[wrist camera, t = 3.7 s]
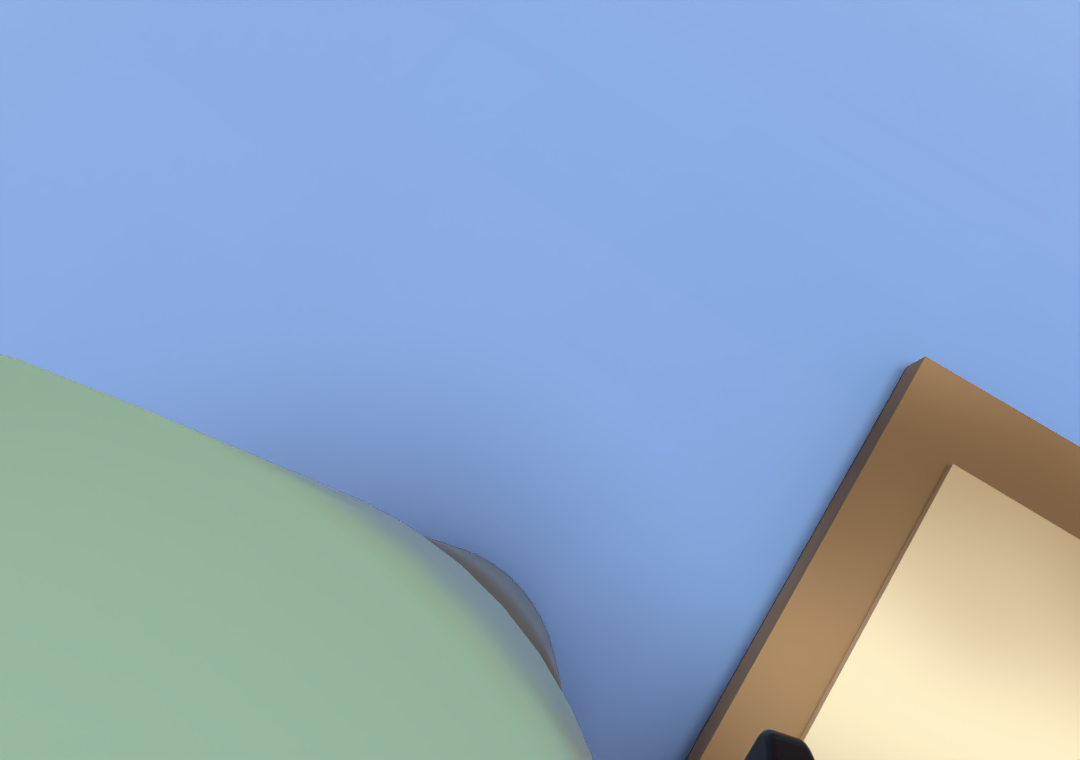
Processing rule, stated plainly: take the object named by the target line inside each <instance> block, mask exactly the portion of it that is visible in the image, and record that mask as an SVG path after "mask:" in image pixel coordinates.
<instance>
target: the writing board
mask: <svg viewBox="0 0 1080 760" xmlns="http://www.w3.org/2000/svg"><path fill="white" fill-rule="evenodd" d="M766 729H772V730H775V731H778V732H781V733H784V734H787V735H790V736H793V737H796V738H799V739H801V740H803V741H804V742H805V743H806V744H807V746H808V747H809V749H810V750H811V752H812V754H813V757H814V759H815V760H1080V447H1079V446H1077V445H1076V444H1074V443H1072V442H1070V441H1069V440H1067V439H1065V438H1064V437H1062V436H1060V435H1058V434H1057V433H1055V432H1053V431H1052V430H1050V429H1048V428H1047V427H1045V426H1043V425H1041V424H1040V423H1038V422H1036V421H1035V420H1033V419H1031V418H1029V417H1028V416H1026V415H1024V414H1023V413H1021V412H1019V411H1018V410H1016V409H1014V408H1012V407H1011V406H1009V405H1007V404H1006V403H1004V402H1002V401H1001V400H999V399H997V398H995V397H994V396H992V395H990V394H989V393H987V392H985V391H983V390H982V389H980V388H978V387H977V386H975V385H973V384H972V383H970V382H968V381H966V380H965V379H963V378H961V377H960V376H958V375H956V374H954V373H953V372H951V371H949V370H948V369H946V368H944V367H943V366H941V365H939V364H937V363H936V362H934V361H932V360H931V359H929V358H927V357H924V358H922V359H920V360H919V361H917V362H915V363H913V364H911V365H910V366H908V367H907V368H906V370H905V372H904V373H903V375H902V377H901V379H900V381H899V382H898V384H897V386H896V388H895V389H894V391H893V393H892V395H891V397H890V398H889V400H888V402H887V404H886V405H885V407H884V409H883V411H882V413H881V414H880V416H879V418H878V420H877V421H876V423H875V425H874V427H873V429H872V430H871V432H870V434H869V436H868V437H867V439H866V441H865V443H864V444H863V446H862V448H861V450H860V452H859V453H858V455H857V457H856V459H855V460H854V462H853V464H852V466H851V468H850V469H849V471H848V473H847V475H846V476H845V478H844V480H843V482H842V484H841V485H840V487H839V489H838V491H837V492H836V494H835V496H834V498H833V500H832V501H831V503H830V505H829V507H828V508H827V510H826V512H825V514H824V516H823V517H822V519H821V521H820V523H819V524H818V526H817V528H816V530H815V532H814V533H813V535H812V537H811V539H810V540H809V542H808V544H807V546H806V547H805V549H804V551H803V553H802V555H801V556H800V558H799V560H798V562H797V563H796V565H795V567H794V569H793V571H792V572H791V574H790V576H789V578H788V579H787V581H786V583H785V585H784V587H783V588H782V590H781V592H780V594H779V595H778V597H777V599H776V601H775V603H774V604H773V606H772V608H771V610H770V611H769V613H768V615H767V617H766V619H765V620H764V622H763V624H762V626H761V627H760V629H759V631H758V633H757V635H756V636H755V638H754V640H753V642H752V643H751V645H750V647H749V649H748V650H747V652H746V654H745V656H744V658H743V659H742V661H741V663H740V665H739V666H738V668H737V670H736V672H735V674H734V675H733V677H732V679H731V681H730V682H729V684H728V686H727V688H726V690H725V691H724V693H723V695H722V697H721V698H720V700H719V702H718V704H717V706H716V707H715V709H714V711H713V713H712V714H711V716H710V718H709V720H708V722H707V723H706V725H705V727H704V729H703V730H702V732H701V734H700V736H699V738H698V739H697V741H696V743H695V745H694V746H693V748H692V750H691V752H690V753H689V755H688V757H687V759H686V760H744V759H745V758H746V756H747V754H748V752H749V751H750V749H751V747H752V746H753V744H754V742H755V741H756V739H757V737H758V736H759V734H760V733H761V732H762V731H764V730H766Z"/></svg>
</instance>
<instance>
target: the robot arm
mask: <svg viewBox="0 0 1080 760" xmlns="http://www.w3.org/2000/svg"><path fill="white" fill-rule="evenodd" d="M744 760H815V759H814V757H813V754H812V752H811V750H810V749H809V747H808V746H807V744H806V743H805V742H804V741H803V740H801V739H799V738H796V737H793V736H790V735H787V734H784V733H781V732H778V731H775V730H772V729H766V730H764V731H762V732H761V733H760V734H759V736H758V737H757V739H756V741H755V742H754V744H753V746H752V747H751V749H750V751H749V752H748V754H747V756H746V758H745V759H744Z"/></svg>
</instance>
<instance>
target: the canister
mask: <svg viewBox="0 0 1080 760" xmlns="http://www.w3.org/2000/svg"><path fill="white" fill-rule="evenodd" d="M0 760H593V758H592V755H591V753H590V751H589V748H588V746H587V744H586V741H585V739H584V736H583V734H582V732H581V729H580V727H579V725H578V722H577V720H576V718H575V715H574V713H573V711H572V708H571V706H570V705H569V703H568V701H567V700H566V698H565V696H564V694H563V691H562V687H561V682H560V678H559V674H558V670H557V665H556V661H555V657H554V653H553V649H552V646H551V642H550V639H549V635H548V633H547V630H546V628H545V626H544V623H543V621H542V619H541V617H540V615H539V613H538V612H537V610H536V608H535V607H534V605H533V603H532V602H531V600H530V599H529V598H528V597H527V595H526V594H525V593H524V591H523V590H522V589H521V588H520V587H519V586H518V585H517V584H516V583H515V582H514V581H513V580H512V579H511V578H510V577H509V576H508V575H507V574H506V573H504V572H503V571H502V570H500V569H499V568H498V567H496V566H495V565H494V564H492V563H490V562H489V561H487V560H485V559H483V558H481V557H480V556H478V555H475V554H473V553H470V552H468V551H465V550H463V549H460V548H457V547H454V546H451V545H448V544H445V543H442V542H439V541H436V540H433V539H430V538H427V537H424V536H422V535H421V534H420V533H418V532H417V531H416V530H414V529H412V528H411V527H409V526H407V525H405V524H403V523H402V522H400V521H398V520H396V519H395V518H393V517H391V516H389V515H387V514H386V513H384V512H382V511H380V510H379V509H377V508H375V507H373V506H371V505H370V504H368V503H366V502H364V501H362V500H359V499H357V498H355V497H352V496H350V495H347V494H345V493H343V492H340V491H338V490H335V489H333V488H331V487H328V486H326V485H324V484H321V483H319V482H316V481H314V480H312V479H309V478H307V477H304V476H302V475H300V474H297V473H295V472H292V471H290V470H288V469H285V468H283V467H281V466H278V465H276V464H273V463H271V462H269V461H266V460H264V459H261V458H259V457H257V456H254V455H252V454H250V453H247V452H245V451H242V450H240V449H238V448H235V447H233V446H230V445H228V444H226V443H223V442H221V441H219V440H216V439H214V438H211V437H209V436H207V435H204V434H202V433H199V432H197V431H195V430H192V429H190V428H188V427H185V426H183V425H180V424H178V423H176V422H173V421H171V420H168V419H166V418H164V417H161V416H159V415H157V414H154V413H152V412H149V411H147V410H145V409H142V408H140V407H137V406H135V405H132V404H130V403H127V402H125V401H122V400H120V399H117V398H115V397H112V396H110V395H107V394H105V393H102V392H99V391H97V390H94V389H92V388H89V387H87V386H84V385H82V384H79V383H77V382H74V381H72V380H69V379H67V378H64V377H62V376H59V375H56V374H54V373H51V372H49V371H46V370H44V369H41V368H39V367H36V366H34V365H31V364H29V363H26V362H24V361H21V360H19V359H15V358H11V357H7V356H3V355H0Z"/></svg>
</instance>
